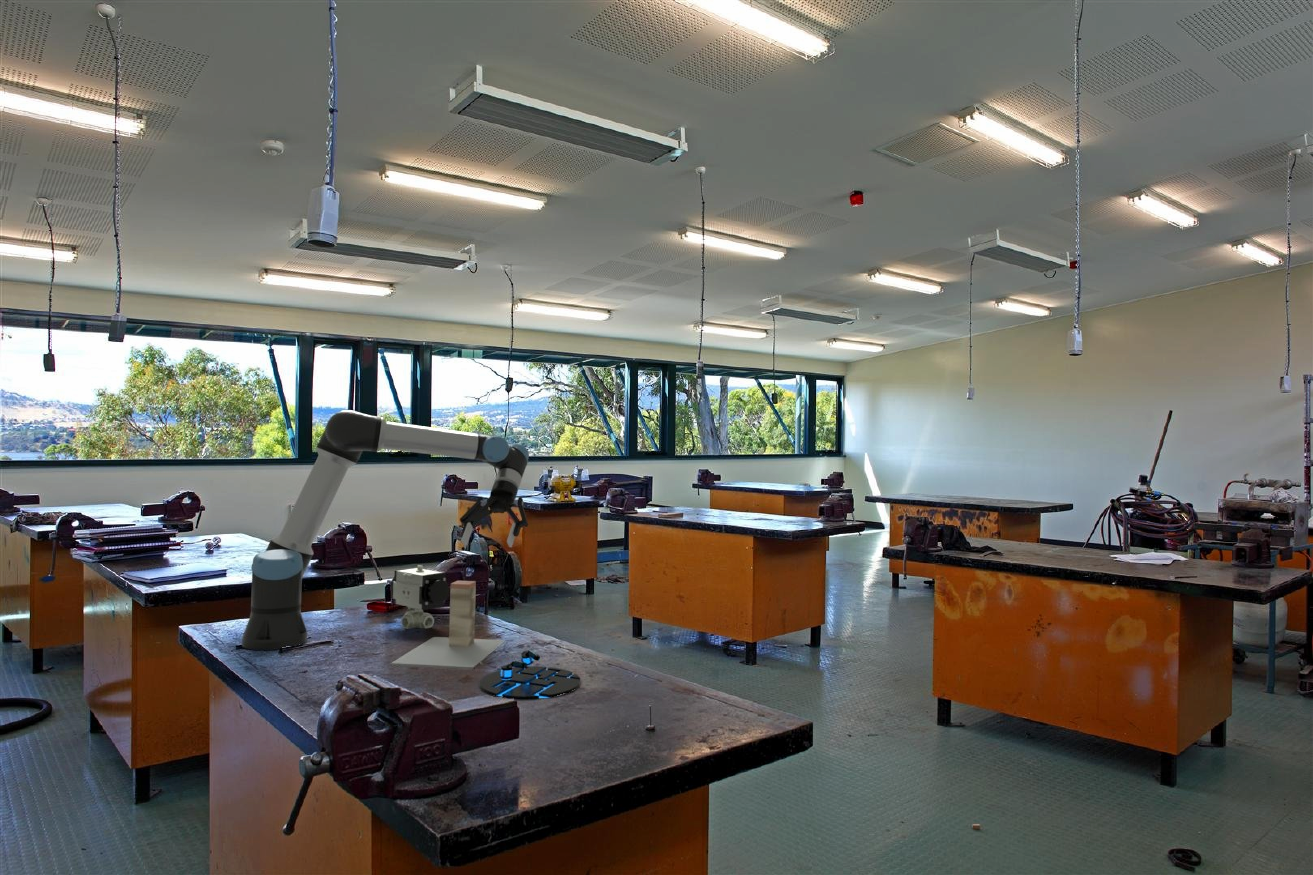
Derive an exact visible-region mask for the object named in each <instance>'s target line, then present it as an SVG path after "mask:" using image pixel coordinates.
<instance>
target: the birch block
mask: <svg viewBox="0 0 1313 875" xmlns="http://www.w3.org/2000/svg"><path fill="white" fill-rule="evenodd" d="M476 583H477V582H476V580H456V581H454V582H451V583H450V588H449V595H450V596H449V598H450V599H449V600H450V601H449V627H448V628H449V630H448V632H449V633H448V634H449V635H448V638H449V646H457V647H468V646H470V645H471V644H473V643H474V639H475V630H476V628H475V626H476V624H475V623H476V594H477V593H476V591H477V589H476V587H477V586H476V585H477V584H476Z"/></svg>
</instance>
